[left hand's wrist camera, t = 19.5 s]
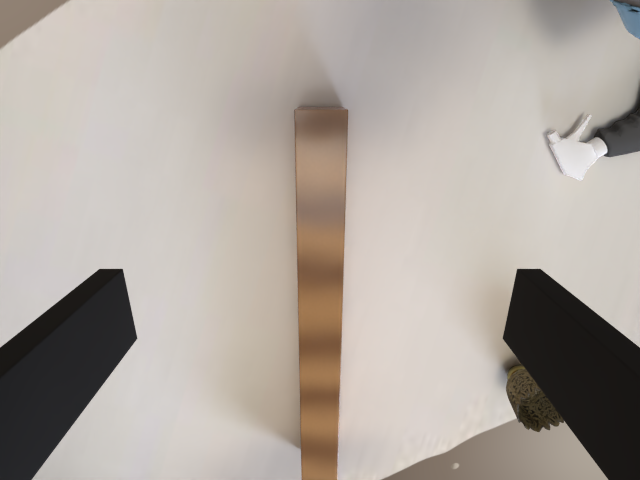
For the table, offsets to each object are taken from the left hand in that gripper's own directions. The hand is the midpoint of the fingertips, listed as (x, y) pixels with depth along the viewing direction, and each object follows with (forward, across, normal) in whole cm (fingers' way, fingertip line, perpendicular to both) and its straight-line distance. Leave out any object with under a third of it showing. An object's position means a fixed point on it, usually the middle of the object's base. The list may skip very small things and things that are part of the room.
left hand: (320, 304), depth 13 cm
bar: (+37, 0, -23) cm, 44 cm away
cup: (+37, +31, -34) cm, 59 cm away
